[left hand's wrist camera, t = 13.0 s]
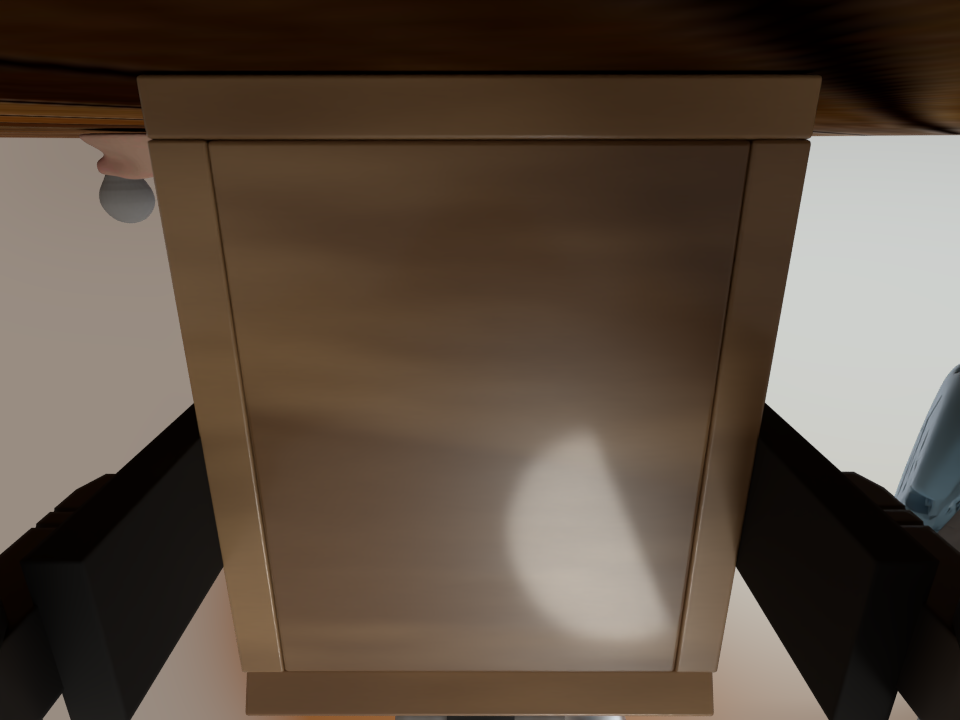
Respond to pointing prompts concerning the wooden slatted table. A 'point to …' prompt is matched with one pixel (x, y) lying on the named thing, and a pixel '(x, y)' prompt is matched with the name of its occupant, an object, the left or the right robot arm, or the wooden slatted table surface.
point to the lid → (479, 694)
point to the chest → (479, 354)
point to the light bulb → (126, 198)
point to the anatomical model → (122, 154)
